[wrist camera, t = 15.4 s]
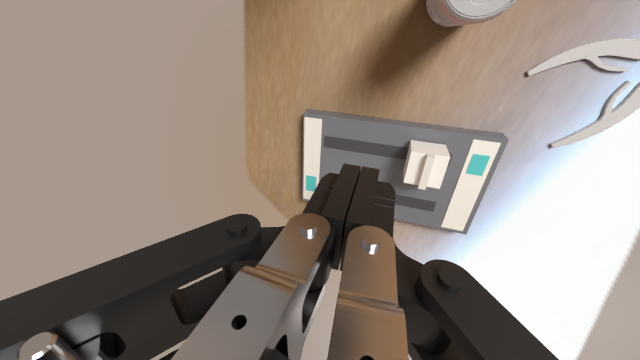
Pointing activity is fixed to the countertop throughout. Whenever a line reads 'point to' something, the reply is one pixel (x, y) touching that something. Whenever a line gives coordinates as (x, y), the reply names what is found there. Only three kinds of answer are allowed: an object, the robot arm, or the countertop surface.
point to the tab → (426, 164)
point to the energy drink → (465, 11)
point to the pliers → (591, 53)
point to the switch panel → (390, 155)
